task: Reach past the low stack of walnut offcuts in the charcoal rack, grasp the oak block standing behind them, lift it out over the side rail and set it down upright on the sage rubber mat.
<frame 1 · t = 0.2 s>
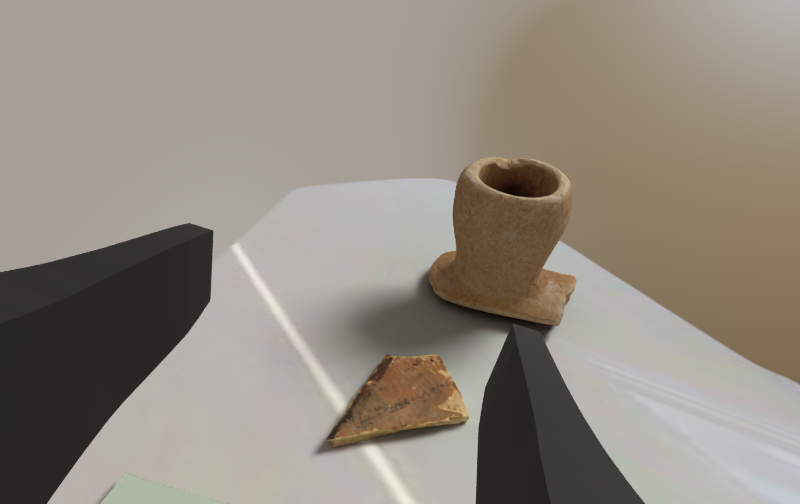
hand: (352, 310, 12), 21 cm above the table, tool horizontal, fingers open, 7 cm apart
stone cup: (496, 305, 54), on the table
shard: (408, 419, 39), on the table
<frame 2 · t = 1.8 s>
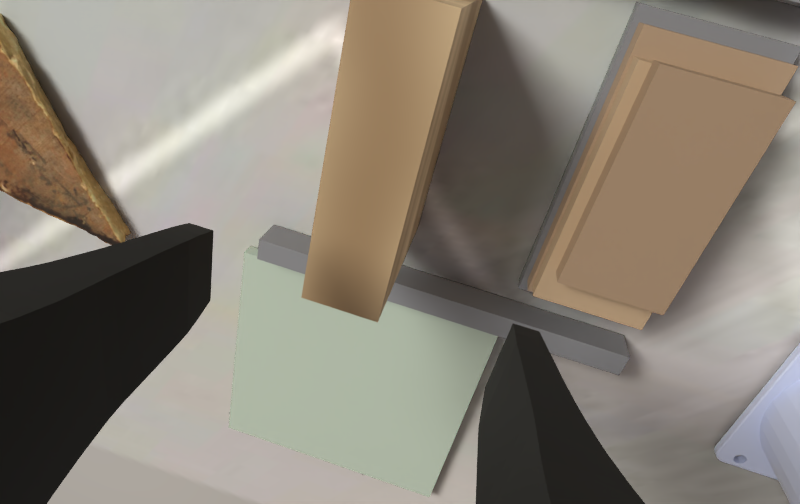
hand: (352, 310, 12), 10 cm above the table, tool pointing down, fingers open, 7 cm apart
sage mat: (349, 378, 27), on the table
oak block: (415, 115, 20), on the table
offcut rack: (491, 138, 19), on the table
shard: (41, 112, 24), on the table
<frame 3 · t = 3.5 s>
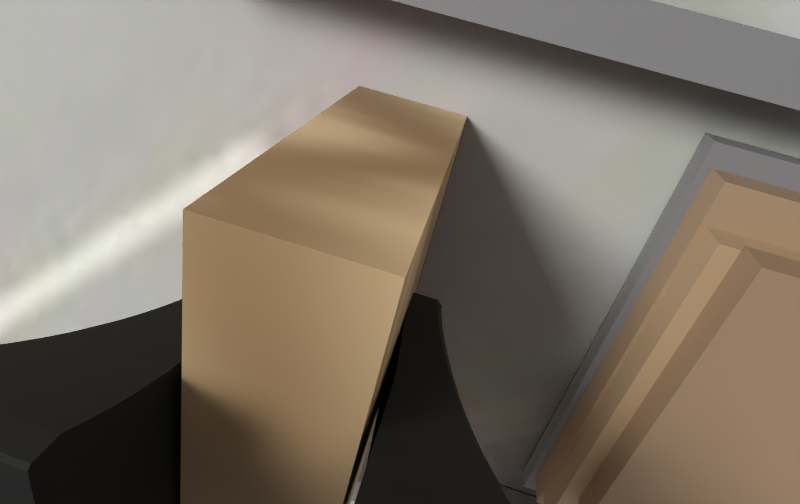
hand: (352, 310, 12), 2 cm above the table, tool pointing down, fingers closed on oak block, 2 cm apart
oak block: (373, 267, 14), on the table, touching gripper
offcut rack: (483, 301, 14), on the table
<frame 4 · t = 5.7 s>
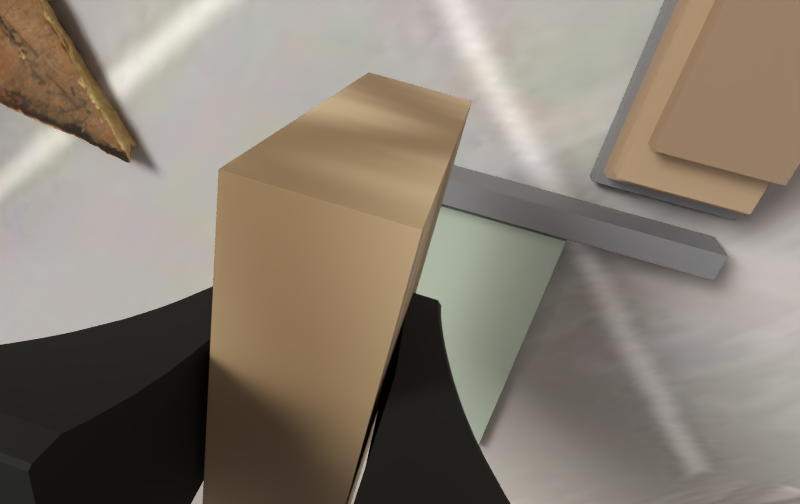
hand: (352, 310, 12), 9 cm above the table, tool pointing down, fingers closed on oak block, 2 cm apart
sage mat: (386, 311, 24), on the table
oak block: (381, 249, 14), point 7 cm above the table, touching gripper
shard: (32, 3, 21), on the table
when the fingers open (4 cm above the table, at t = 7.8 s): oak block stays where it is, resting on sage mat.
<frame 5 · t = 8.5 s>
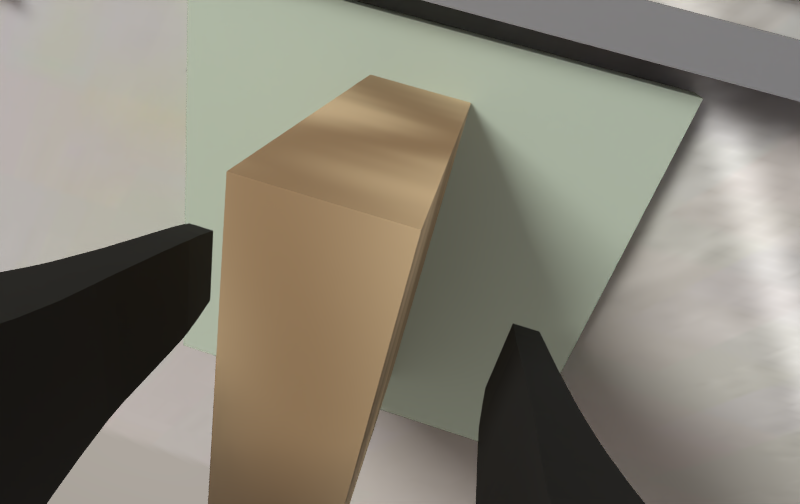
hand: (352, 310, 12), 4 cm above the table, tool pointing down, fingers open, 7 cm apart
sage mat: (387, 241, 15), on the table
oak block: (382, 247, 15), point 1 cm above the table, touching sage mat
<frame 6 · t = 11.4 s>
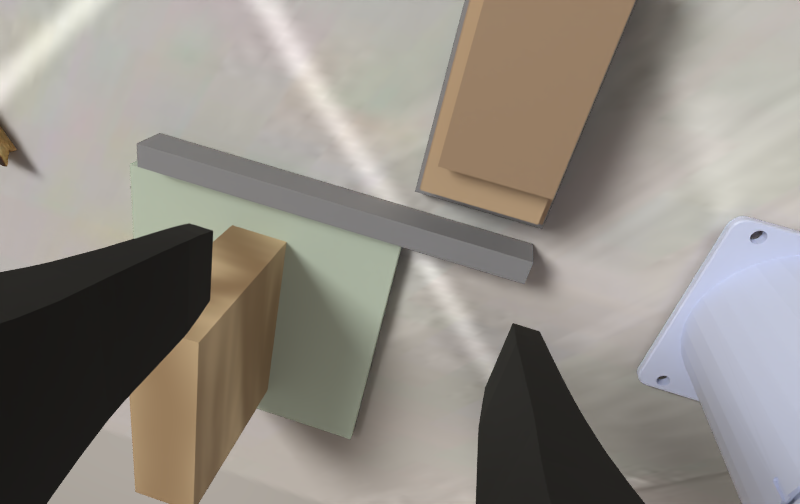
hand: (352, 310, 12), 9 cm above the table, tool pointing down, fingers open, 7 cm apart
sage mat: (257, 309, 25), on the table
oak block: (251, 314, 25), point 1 cm above the table, touching sage mat
offcut rack: (372, 17, 18), on the table
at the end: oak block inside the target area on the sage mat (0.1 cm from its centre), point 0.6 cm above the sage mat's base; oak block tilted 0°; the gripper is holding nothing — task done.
